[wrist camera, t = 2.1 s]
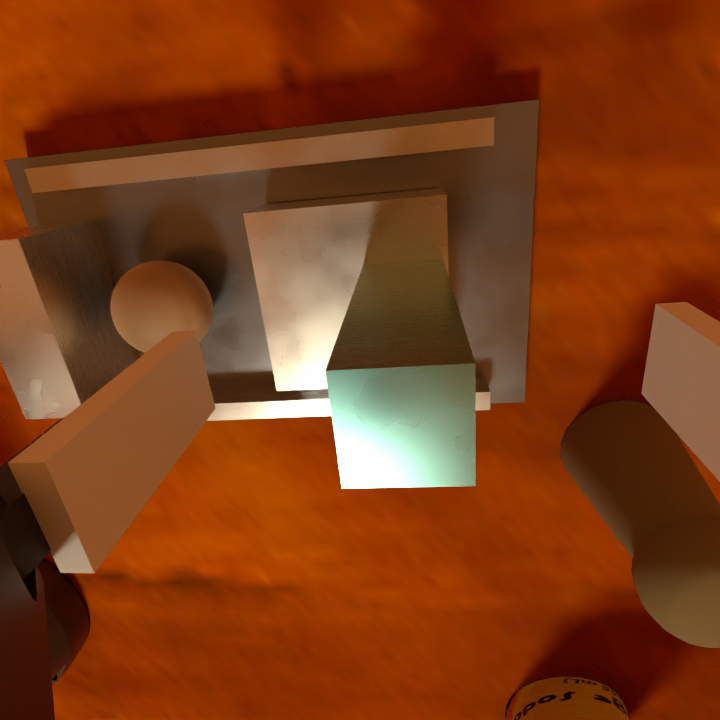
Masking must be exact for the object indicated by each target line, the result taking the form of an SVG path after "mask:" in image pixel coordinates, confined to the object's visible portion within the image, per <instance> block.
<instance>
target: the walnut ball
mask: <svg viewBox="0 0 720 720" xmlns="http://www.w3.org/2000/svg"><path fill="white" fill-rule="evenodd" d="M110 309H111V316H112V320H113V323H114V325H115V327H116V329H117V331H118V332H119V334H120V335H121V336H122V337H123V339H124V340H125V341H126V342H127V343H129V344H130V345H131V346H133V347H134V348H136V349H138V350H140V351H142V352H145V353H146V352H148V351H149V350H150V349H151V348H153V347H154V346H155V345H156V344H158V343H159V342H160V341H161V340H163V339H164V338H165V337H166V336H168V335H169V334H170V333H171V332H176V331H194V330H196V333H197V337H198V341H199V342H200V341H201V340H202V339H203V338H204V336H205V335H206V333H207V332H208V330H209V327H210V325H211V322H212V318H213V303H212V298H211V295H210V293H209V290H208V288H207V287H206V285H205V283H204V282H203V281H202V279H201V278H200V277H199V276H198V275H197V274H195V273H194V272H193V271H191V270H190V269H189V268H187V267H185V266H183V265H180V264H178V263H174V262H170V261H149V262H145V263H142V264H139V265H137V266H135V267H133V268H132V269H130V270H129V271H127V272H126V273H125V274H124V275H123V276H122V277H121V278H120V280H119V281H118V282H117V284H116V286H115V288H114V290H113V293H112V297H111V303H110Z"/></svg>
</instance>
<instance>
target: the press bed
mask: <svg viewBox="0 0 720 720" xmlns="http://www.w3.org/2000/svg"><path fill="white" fill-rule="evenodd" d="M538 111H539V100H530V101H522V102H513V103H504V104H495V105H486V106H478V107H469V108H460V109H451V110H442V111H434V112H425V113H416V114H407V115H398V116H390V117H381V118H372V119H363V120H354V121H345V122H337V123H328V124H319V125H310V126H301V127H293V128H284V129H275V130H266V131H257V132H249V133H240V134H231V135H222V136H213V137H205V138H196V139H187V140H178V141H169V142H161V143H152V144H143V145H134V146H125V147H116V148H108V149H99V150H90V151H81V152H72V153H64V154H55V155H46V156H37V157H28V158H20V159H11V160H4V161H5V163H6V166H7V169H8V172H9V174H10V177H11V180H12V182H13V185H14V188H15V191H16V193H17V196H18V199H19V201H20V204H21V207H22V210H23V212H24V215H25V218H26V221H27V223H28V226H29V227H28V228H24V229H19V230H15V231H10V232H6V233H1V234H0V361H1V364H2V366H3V368H4V370H5V373H6V375H7V377H8V380H9V382H10V384H11V386H12V389H13V391H14V393H15V396H16V398H17V400H18V402H19V405H20V407H21V409H22V411H23V414H24V416H25V418H26V419H50V418H64V417H66V416H67V415H69V414H70V413H71V412H72V411H74V410H75V409H76V408H77V407H79V406H80V405H81V404H82V403H84V402H85V401H86V400H87V399H89V398H90V397H91V396H92V395H94V394H95V393H96V392H97V391H99V390H100V389H101V388H102V387H104V386H105V385H106V384H107V383H109V382H110V381H111V380H112V379H114V378H115V377H116V376H118V375H119V374H120V373H121V372H123V371H124V370H125V369H126V368H128V367H129V366H130V365H131V364H133V363H134V362H135V361H136V360H138V359H139V358H140V357H141V356H143V355H144V354H145V352H142V351H140V350H138V349H136V348H134V347H133V346H131V345H130V344H129V343H127V342H126V341H125V340H124V339H123V337H122V336H121V335H120V334H119V332H118V331H117V329H116V327H115V325H114V323H113V320H112V316H111V309H110V303H111V297H112V293H113V290H114V288H115V286H116V284H117V282H118V281H119V280H120V278H121V277H122V276H123V275H124V274H125V273H126V272H127V271H129V270H130V269H132V268H133V267H135V266H137V265H139V264H142V263H145V262H149V261H170V262H174V263H178V264H180V265H183V266H185V267H187V268H189V269H190V270H191V271H193V272H194V273H195V274H197V275H198V276H199V277H200V278H201V279H202V281H203V282H204V283H205V285H206V287H207V288H208V290H209V293H210V295H211V298H212V303H213V318H212V322H211V325H210V327H209V330H208V332H207V333H206V335H205V336H204V338H203V339H202V340H201V341H200V342H199V345H200V349H201V353H202V357H203V360H204V364H205V368H206V372H207V376H208V380H209V384H210V388H211V392H212V396H213V400H214V404H215V408H216V409H215V410H214V411H213V413H212V414H211V416H210V417H209V418H208V420H207V421H211V420H237V419H263V418H289V417H315V416H332V415H331V408H330V400H329V393H328V389H313V390H291V391H276V385H275V380H274V375H273V369H272V364H271V359H270V354H269V348H268V343H267V338H266V332H265V327H264V322H263V317H262V311H261V306H260V301H259V295H258V290H257V285H256V280H255V274H254V269H253V264H252V258H251V253H250V248H249V243H248V237H247V232H246V227H245V221H244V216H243V213H245V212H248V211H250V210H252V209H254V208H257V207H259V206H261V205H264V204H275V203H285V202H296V201H307V200H317V199H328V198H339V197H349V196H360V195H370V194H381V193H392V192H402V191H413V190H423V189H434V188H442V189H443V190H444V192H445V193H446V194H447V227H448V271H449V279H450V282H451V285H452V289H453V292H454V295H455V298H456V302H457V305H458V308H459V311H460V315H461V318H462V321H463V324H464V328H465V331H466V334H467V337H468V341H469V344H470V347H471V350H472V354H473V357H474V360H475V363H476V410H490V403H513V402H525V385H526V364H527V343H528V322H529V300H530V279H531V258H532V237H533V216H534V195H535V174H536V153H537V132H538Z"/></svg>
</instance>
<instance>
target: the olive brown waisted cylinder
mask: <svg viewBox="0 0 720 720" xmlns="http://www.w3.org/2000/svg"><path fill="white" fill-rule="evenodd" d="M561 459H562V461H563V464H564V467H565V469H566V470H567V472H568V473H569V474H570V476H571V477H572V478H573V480H574V481H575V482H576V484H577V485H578V486H579V488H580V489H581V490H582V492H583V493H584V494H585V496H586V497H587V498H588V500H589V501H590V502H591V504H592V505H593V506H594V508H595V509H596V510H597V512H598V513H599V514H600V516H601V517H602V518H603V520H604V521H605V522H606V524H607V525H608V526H609V528H610V529H611V530H612V532H613V533H614V534H615V536H616V537H617V539H618V540H619V541H620V543H621V544H622V545H623V547H624V548H625V549H626V551H627V552H628V553H629V555H630V556H631V557H632V559H633V561H632V570H631V571H632V576H633V581H634V585H635V587H636V590H637V593H638V596H639V598H640V600H641V602H642V604H643V606H644V608H645V609H646V610H647V612H648V613H649V614H650V615H651V616H652V617H653V619H654V620H655V621H656V622H657V623H658V624H659V625H660V626H661V627H662V628H663V629H664V630H666V631H667V632H669V633H670V634H672V635H673V636H675V637H677V638H679V639H681V640H683V641H685V642H687V643H689V644H692V645H697V646H702V647H707V648H720V504H719V502H718V501H717V499H716V498H715V496H714V494H713V493H712V491H711V489H710V488H709V486H708V485H707V483H706V481H705V480H704V478H703V477H702V475H701V473H700V472H699V470H698V468H697V467H696V465H695V464H694V462H693V460H692V459H691V457H690V456H689V454H688V452H687V451H686V449H685V447H684V446H683V444H682V443H681V441H680V439H679V438H678V436H677V435H676V433H675V431H674V430H673V429H672V428H671V426H670V425H669V424H668V423H667V422H666V421H665V420H664V419H663V417H662V416H661V415H660V414H659V413H658V412H657V411H656V410H655V408H653V407H651V406H650V405H648V404H646V403H642V402H637V401H632V400H620V401H609V402H606V403H603V404H600V405H597V406H594V407H592V408H590V409H589V410H587V411H586V412H584V413H583V414H581V415H580V416H578V417H577V418H576V419H575V420H574V421H573V423H572V424H571V425H570V426H569V427H568V428H567V430H566V432H565V434H564V437H563V439H562V442H561Z"/></svg>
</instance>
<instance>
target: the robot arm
mask: <svg viewBox="0 0 720 720" xmlns="http://www.w3.org/2000/svg"><path fill="white" fill-rule="evenodd" d="M641 394H642V395H643V396H644V397H645V398H646V400H647V401H648V402H649V403H650V404H651V405H652V406H653V407H654V408H655V410H656V411H657V412H658V413H659V414H660V415H661V416H662V417H663V419H664V420H665V421H666V422H667V423H668V424H669V425H670V426H671V428H672V429H673V430H674V431H675V432H676V433H677V434H678V435H679V437H680V438H681V439H682V440H683V441H684V442H685V443H686V444H687V445H688V447H689V448H690V449H691V450H692V451H693V452H694V453H695V454H696V456H697V457H698V458H699V459H700V460H701V461H702V462H703V463H704V465H705V466H706V467H707V468H708V469H709V470H710V471H711V472H712V473H713V475H714V476H715V477H716V478H717V479H718V480H719V481H720V322H719V321H717V320H716V319H714V318H712V317H711V316H709V315H707V314H706V313H704V312H702V311H701V310H699V309H697V308H696V307H694V306H692V305H691V304H689V303H687V302H676V303H659V304H656V305H655V311H654V317H653V323H652V329H651V336H650V342H649V348H648V354H647V361H646V367H645V373H644V379H643V386H642V392H641ZM215 409H216V408H215V404H214V400H213V396H212V392H211V388H210V384H209V380H208V376H207V372H206V368H205V364H204V360H203V357H202V353H201V349H200V345H199V341H198V337H197V333H196V330H194V331H176V332H171V333H170V334H169V335H168V336H166V337H165V338H164V339H163V340H161V341H160V342H159V343H158V344H156V345H155V346H154V347H153V348H151V349H150V350H149V351H148V352H146V353H145V354H144V355H143V356H141V357H140V358H139V359H138V360H136V361H135V362H134V363H133V364H131V365H130V366H129V367H128V368H126V369H125V370H124V371H123V372H121V373H120V374H119V375H118V376H116V377H115V378H114V379H112V380H111V381H110V382H109V383H107V384H106V385H105V386H104V387H102V388H101V389H100V390H99V391H97V392H96V393H95V394H94V395H92V396H91V397H90V398H89V399H87V400H86V401H85V402H84V403H82V404H81V405H80V406H79V407H77V408H76V409H75V410H74V411H72V412H71V413H70V414H69V415H67V416H66V417H64V418H62V419H60V420H59V421H58V422H56V423H55V424H54V425H53V426H51V427H50V428H49V429H48V430H46V431H45V432H44V435H40V436H39V437H37V438H36V439H35V440H34V441H32V442H31V443H32V444H31V445H27V446H26V447H25V448H24V449H22V450H21V451H20V452H19V453H17V454H16V455H15V456H14V457H12V458H11V459H10V460H8V461H7V462H6V463H5V464H3V465H2V466H1V467H0V720H55V716H54V704H53V691H52V684H54V683H55V682H56V681H57V680H58V679H59V678H60V677H61V676H62V675H63V674H64V673H65V672H66V671H67V669H68V668H69V667H70V665H71V664H72V662H73V660H74V659H75V657H76V656H77V654H78V653H79V651H80V650H81V648H82V647H83V645H84V643H85V641H86V639H87V636H88V632H89V620H88V615H87V612H86V609H85V606H84V604H83V602H82V600H81V598H80V596H79V595H78V593H77V592H76V590H75V589H74V588H73V586H72V585H71V584H70V583H69V582H68V581H67V579H66V578H65V577H64V576H63V575H62V574H61V573H95V572H96V570H97V569H98V568H99V566H100V565H101V564H102V562H103V561H104V560H105V558H106V557H107V556H108V554H109V553H110V551H111V550H112V549H113V547H114V546H115V545H116V543H117V542H118V541H119V539H120V538H121V536H122V535H123V534H124V532H125V531H126V530H127V528H128V527H129V526H130V524H131V523H132V522H133V520H134V519H135V517H136V516H137V515H138V513H139V512H140V511H141V509H142V508H143V507H144V505H145V504H146V503H147V501H148V500H149V498H150V497H151V496H152V494H153V493H154V492H155V490H156V489H157V488H158V486H159V485H160V483H161V482H162V481H163V479H164V478H165V477H166V475H167V474H168V473H169V471H170V470H171V469H172V467H173V466H174V464H175V463H176V462H177V460H178V459H179V458H180V456H181V455H182V454H183V452H184V451H185V449H186V448H187V447H188V445H189V444H190V443H191V441H192V440H193V439H194V437H195V436H196V435H197V433H198V432H199V430H200V429H201V428H202V426H203V425H204V424H205V422H206V421H207V420H208V418H209V417H210V416H211V414H212V413H213V411H214V410H215ZM49 551H50V552H51V554H52V556H53V558H54V560H55V563H56V565H57V567H58V569H59V571H60V572H58V571H57V570H56V569H55V568H54V567H53V566H51V565H50V564H49V563H47V562H46V561H45V560H43V558H44V557H45V556H46V555H47V554H48V553H49Z"/></svg>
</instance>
